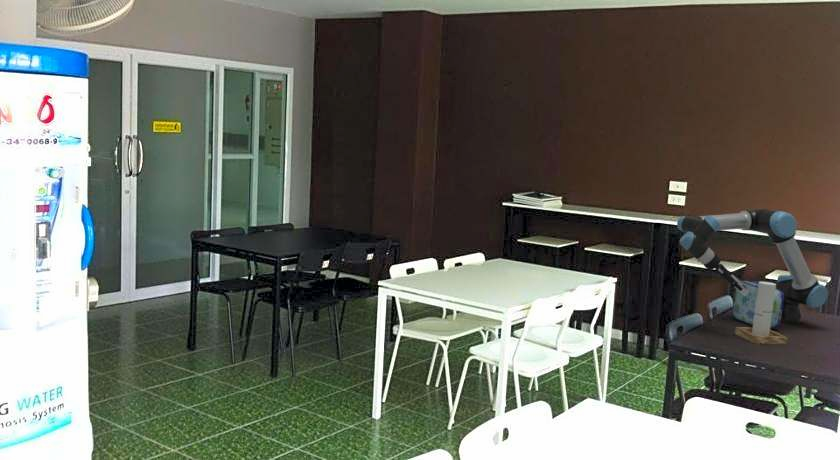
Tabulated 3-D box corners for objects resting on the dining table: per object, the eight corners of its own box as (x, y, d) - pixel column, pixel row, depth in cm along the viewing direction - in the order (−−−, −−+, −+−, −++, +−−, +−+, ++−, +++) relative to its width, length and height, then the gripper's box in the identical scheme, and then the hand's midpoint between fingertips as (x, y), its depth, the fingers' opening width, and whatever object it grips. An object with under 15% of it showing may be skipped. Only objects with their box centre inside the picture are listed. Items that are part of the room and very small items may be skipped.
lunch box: (783, 331, 387) (789, 288, 385) (764, 331, 384) (770, 287, 382) (747, 318, 412) (752, 277, 409) (729, 317, 409) (734, 276, 406)
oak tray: (767, 335, 377) (768, 328, 377) (786, 344, 361) (787, 337, 361) (734, 333, 375) (735, 326, 375) (752, 343, 359) (753, 336, 359)
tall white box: (769, 340, 364) (777, 285, 360) (752, 338, 365) (759, 283, 362) (767, 337, 371) (774, 282, 367) (750, 334, 372) (757, 280, 369)
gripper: (699, 258, 388) (732, 288, 388) (707, 271, 364) (742, 303, 364) (710, 246, 385) (744, 276, 385) (719, 260, 361) (755, 291, 362)
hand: (743, 289), depth 375 cm, fingers open, 13 cm apart
